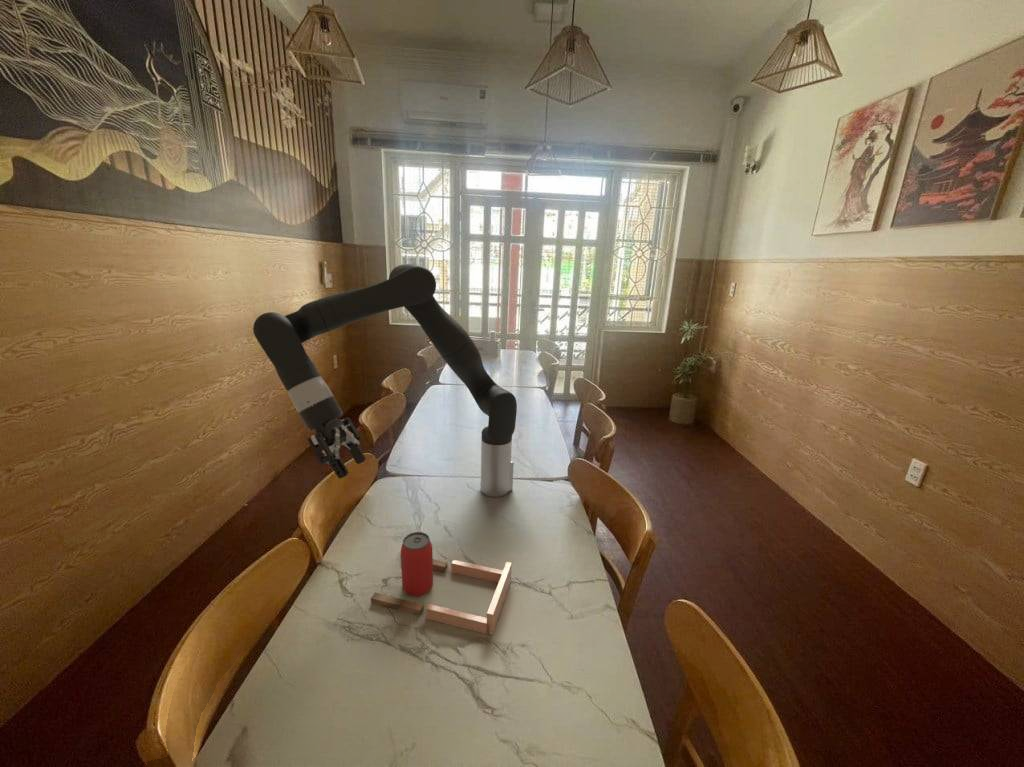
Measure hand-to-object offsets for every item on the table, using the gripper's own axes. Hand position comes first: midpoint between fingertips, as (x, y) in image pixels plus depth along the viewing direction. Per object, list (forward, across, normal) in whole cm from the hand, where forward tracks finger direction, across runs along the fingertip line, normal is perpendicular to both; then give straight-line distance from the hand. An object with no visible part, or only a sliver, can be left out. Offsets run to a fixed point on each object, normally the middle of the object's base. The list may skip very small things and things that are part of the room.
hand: (353, 468), depth 88 cm
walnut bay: (+29, -1, +1) cm, 29 cm away
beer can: (+30, -2, 0) cm, 30 cm away
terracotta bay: (+35, -4, -10) cm, 37 cm away
